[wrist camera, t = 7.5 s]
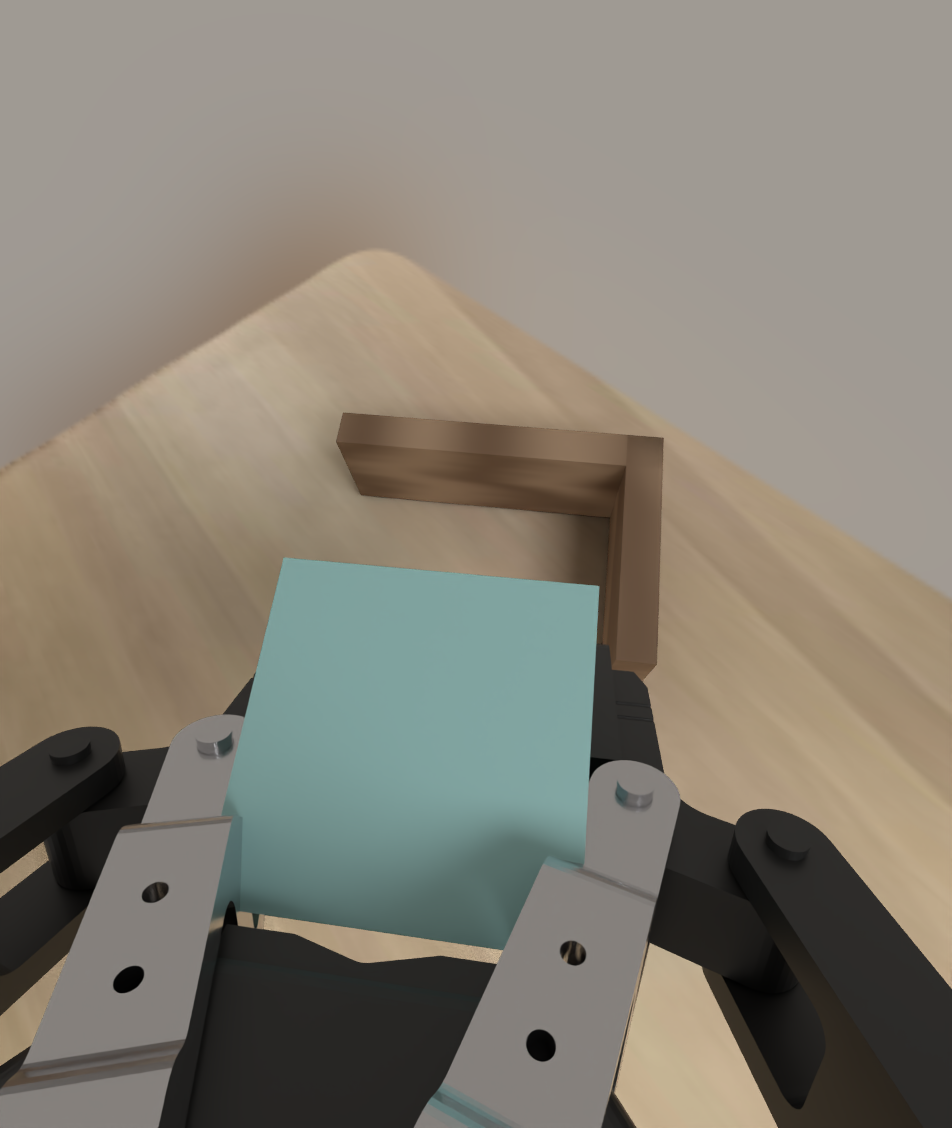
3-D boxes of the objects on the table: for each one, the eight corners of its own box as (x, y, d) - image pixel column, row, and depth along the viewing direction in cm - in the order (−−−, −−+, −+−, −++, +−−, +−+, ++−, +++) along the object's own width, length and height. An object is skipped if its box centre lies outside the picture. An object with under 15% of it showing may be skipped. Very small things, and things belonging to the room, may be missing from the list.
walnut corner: (642, 493, 32) (663, 437, 28) (634, 689, 29) (656, 664, 24) (366, 469, 34) (343, 412, 29) (326, 654, 30) (292, 623, 26)
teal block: (560, 700, 17) (599, 585, 9) (547, 888, 16) (579, 961, 7) (394, 682, 18) (283, 557, 9) (364, 863, 16) (199, 905, 8)
